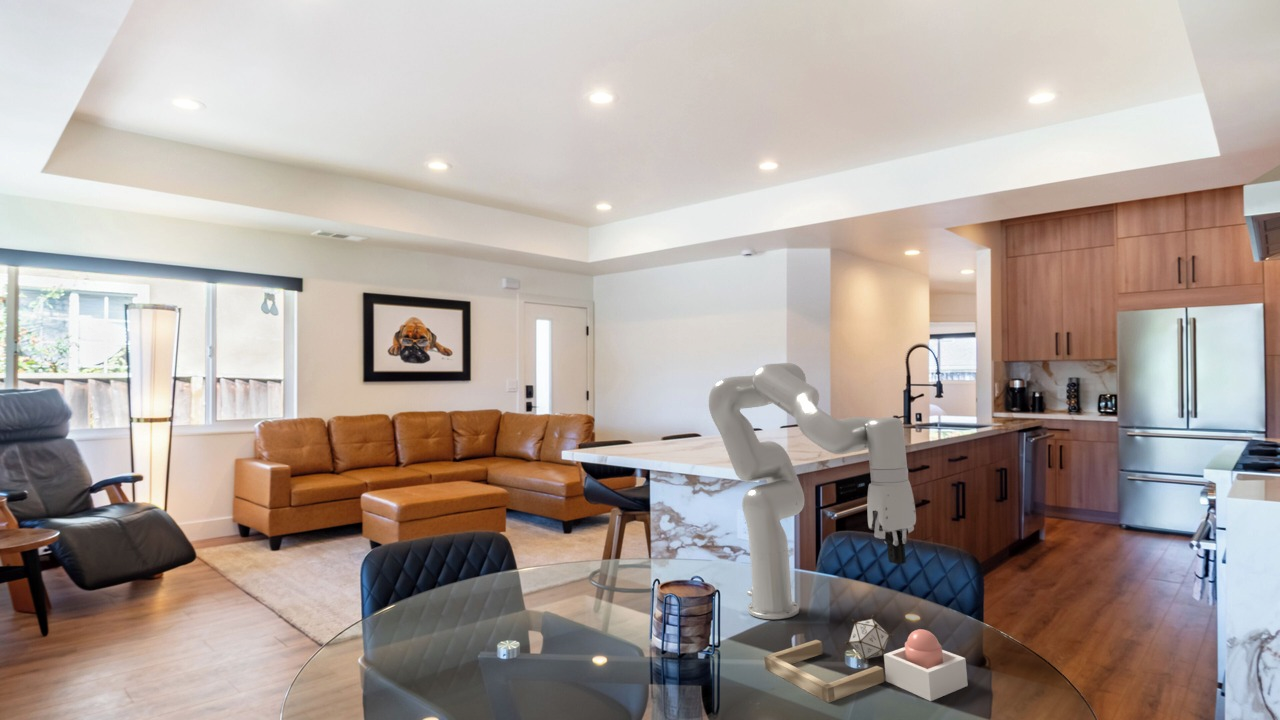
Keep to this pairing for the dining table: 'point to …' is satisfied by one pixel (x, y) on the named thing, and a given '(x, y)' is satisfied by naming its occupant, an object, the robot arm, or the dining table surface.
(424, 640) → the dining table surface
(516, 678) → the dining table surface
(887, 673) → the white open box
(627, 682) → the dining table surface
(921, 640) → the dome
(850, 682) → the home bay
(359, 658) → the dining table surface
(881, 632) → the game die
